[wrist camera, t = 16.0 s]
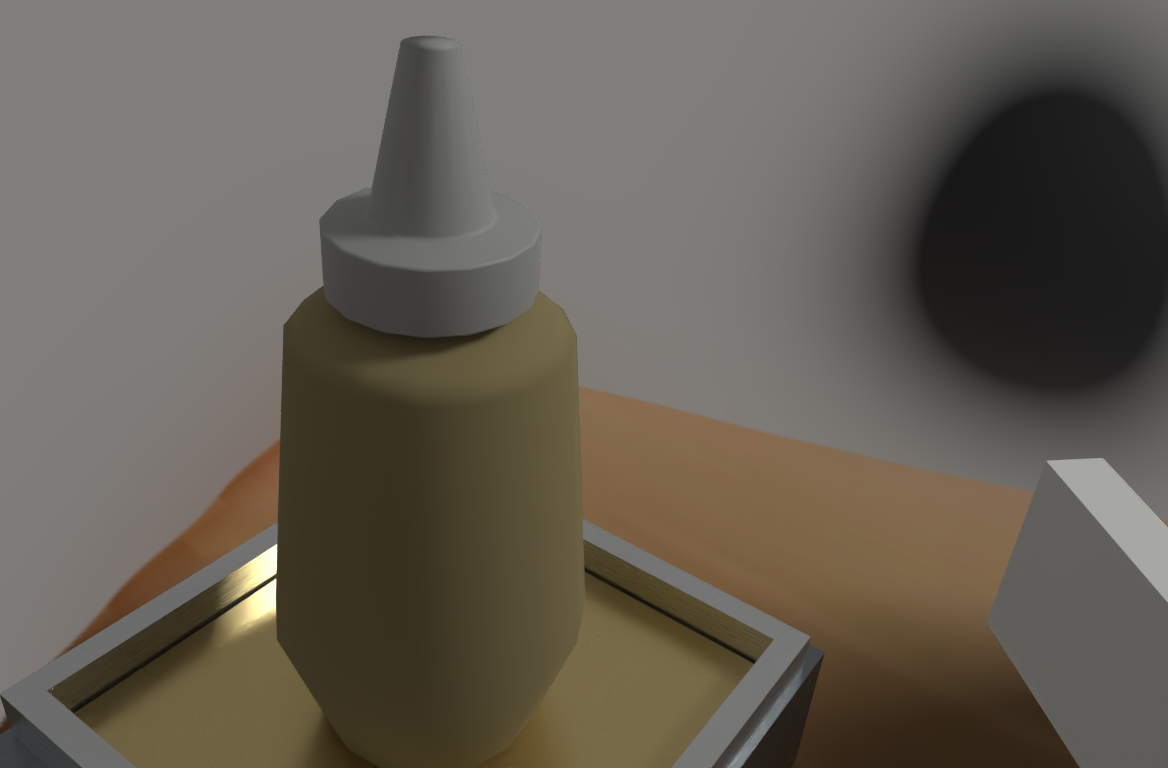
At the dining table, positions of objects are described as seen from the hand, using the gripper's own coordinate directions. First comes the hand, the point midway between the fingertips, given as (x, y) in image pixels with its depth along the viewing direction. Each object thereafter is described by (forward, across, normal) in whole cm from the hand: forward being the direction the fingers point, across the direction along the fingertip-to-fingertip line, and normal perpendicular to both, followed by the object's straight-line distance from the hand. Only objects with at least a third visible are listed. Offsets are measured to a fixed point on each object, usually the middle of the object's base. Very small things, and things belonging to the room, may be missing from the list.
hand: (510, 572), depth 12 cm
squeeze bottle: (+11, -1, -15) cm, 19 cm away
